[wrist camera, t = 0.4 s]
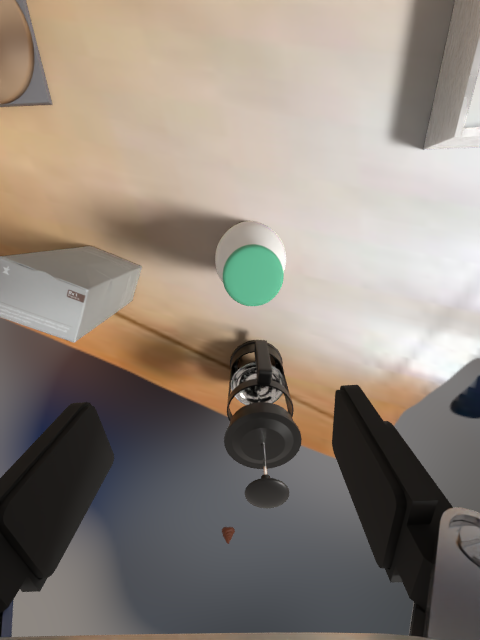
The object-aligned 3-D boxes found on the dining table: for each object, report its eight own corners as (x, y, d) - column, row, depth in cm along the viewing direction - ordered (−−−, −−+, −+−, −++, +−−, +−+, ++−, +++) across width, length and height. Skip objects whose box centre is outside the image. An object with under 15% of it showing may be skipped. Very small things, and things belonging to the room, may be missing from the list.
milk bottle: (221, 273, 38) (200, 323, 19) (223, 219, 35) (200, 218, 16) (271, 276, 38) (297, 329, 19) (277, 222, 35) (314, 225, 16)
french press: (277, 389, 46) (306, 535, 25) (228, 385, 46) (214, 529, 25) (287, 333, 42) (333, 452, 20) (232, 329, 41) (220, 444, 20)
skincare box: (83, 282, 39) (-15, 320, 24) (92, 239, 36) (-12, 252, 22) (135, 303, 40) (72, 351, 25) (147, 262, 37) (84, 290, 23)
